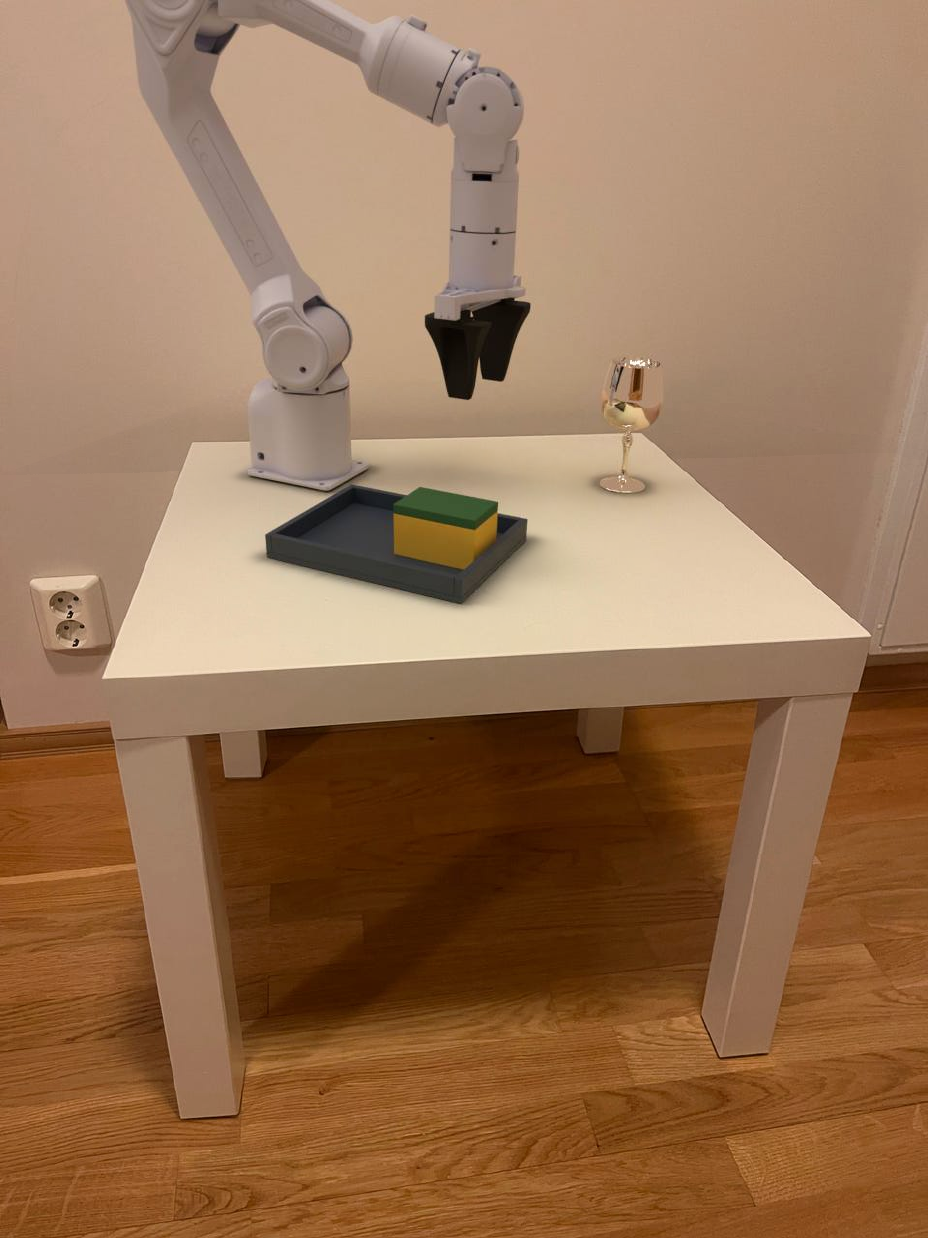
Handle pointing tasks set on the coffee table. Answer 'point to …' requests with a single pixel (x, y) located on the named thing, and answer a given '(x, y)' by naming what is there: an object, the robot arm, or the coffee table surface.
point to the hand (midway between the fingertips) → (477, 388)
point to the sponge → (444, 527)
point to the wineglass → (631, 408)
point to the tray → (381, 545)
